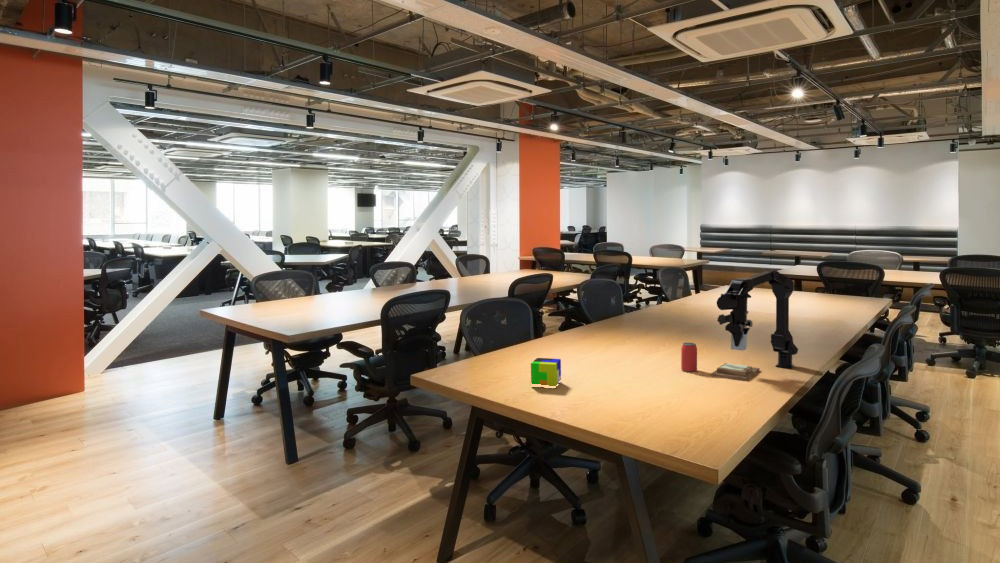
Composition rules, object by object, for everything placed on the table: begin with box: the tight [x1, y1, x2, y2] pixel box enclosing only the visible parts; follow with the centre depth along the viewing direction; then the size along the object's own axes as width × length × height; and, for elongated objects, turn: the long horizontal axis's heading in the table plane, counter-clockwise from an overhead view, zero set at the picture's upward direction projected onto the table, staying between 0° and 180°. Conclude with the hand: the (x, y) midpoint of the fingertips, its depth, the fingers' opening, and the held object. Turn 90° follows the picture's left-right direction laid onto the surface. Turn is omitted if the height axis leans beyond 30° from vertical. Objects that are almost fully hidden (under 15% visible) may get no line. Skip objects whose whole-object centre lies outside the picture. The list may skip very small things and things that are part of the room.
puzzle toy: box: [530, 357, 562, 386], centre depth 233 cm, size 10×10×10 cm
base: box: [710, 363, 760, 382], centre depth 243 cm, size 20×14×3 cm
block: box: [730, 334, 748, 352], centre depth 240 cm, size 5×5×6 cm
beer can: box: [680, 342, 698, 373], centre depth 250 cm, size 7×7×12 cm
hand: (738, 345), depth 240 cm, fingers closed on block, 5 cm apart
